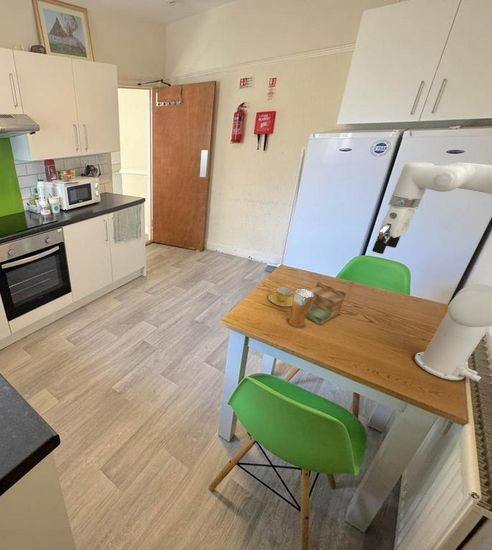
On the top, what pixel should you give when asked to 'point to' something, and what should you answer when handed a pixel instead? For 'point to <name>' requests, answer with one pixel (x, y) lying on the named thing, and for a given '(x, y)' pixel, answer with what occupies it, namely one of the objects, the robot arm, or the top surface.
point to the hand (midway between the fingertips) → (383, 249)
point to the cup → (281, 297)
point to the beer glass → (301, 307)
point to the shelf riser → (325, 303)
